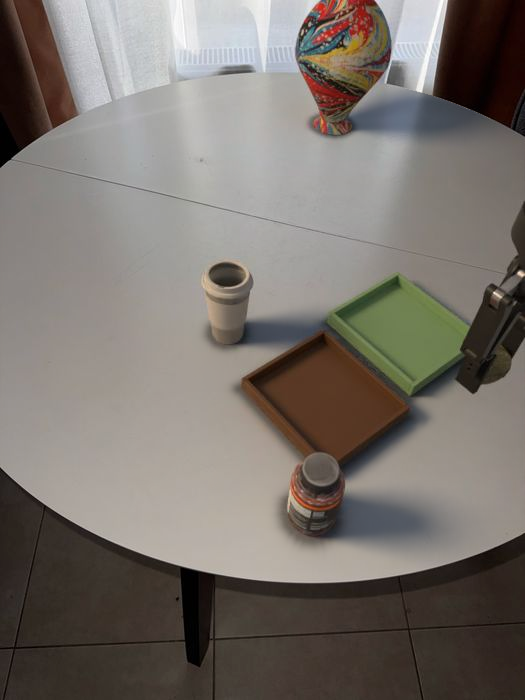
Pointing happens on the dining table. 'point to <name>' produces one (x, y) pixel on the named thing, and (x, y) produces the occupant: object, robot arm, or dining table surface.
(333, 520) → the supplement bottle
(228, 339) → the cup
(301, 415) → the walnut tray
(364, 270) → the dining table surface
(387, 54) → the vase
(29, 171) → the dining table surface
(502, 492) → the dining table surface
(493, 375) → the lime
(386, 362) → the green tray
